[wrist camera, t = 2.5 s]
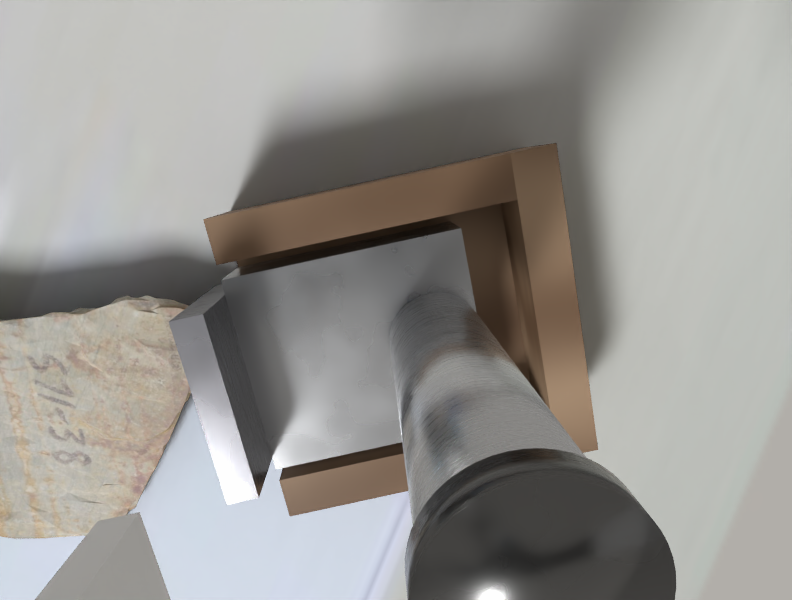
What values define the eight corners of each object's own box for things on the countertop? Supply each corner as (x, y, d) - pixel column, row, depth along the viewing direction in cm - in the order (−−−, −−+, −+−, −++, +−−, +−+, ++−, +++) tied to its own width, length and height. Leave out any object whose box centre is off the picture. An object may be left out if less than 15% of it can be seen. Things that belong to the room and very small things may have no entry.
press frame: (229, 211, 21) (203, 219, 18) (525, 147, 21) (556, 142, 18) (301, 466, 24) (289, 516, 20) (564, 409, 24) (597, 449, 20)
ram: (211, 272, 20) (-119, 491, 7) (457, 219, 20) (649, 325, 7) (261, 441, 22) (82, 903, 8) (489, 392, 22) (696, 769, 8)
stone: (228, 284, 22) (211, 299, 20) (241, 518, 25) (227, 557, 22) (-163, 284, 21) (-233, 299, 19) (-112, 526, 24) (-168, 568, 21)
